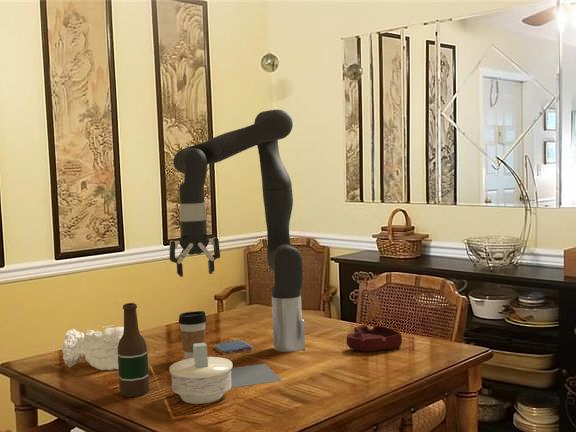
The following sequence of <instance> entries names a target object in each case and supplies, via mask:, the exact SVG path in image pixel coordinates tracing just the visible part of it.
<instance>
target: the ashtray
mask: <svg viewBox="0 0 576 432" xmlns="http://www.w3.org/2000/svg"><path fill="white" fill-rule="evenodd" d="M345 341H346V345H347V347H348V348H350V350H353V352H355V353H361V352H372V351H383V350H384V351H385V350H395V349H399V348H400V347H401V346H402V342H403V337H402V334H401V332H399V331H397V330H394V329H393V328H390V327H388V326H384V325H374V326H373V328H370V327H368V325H367V324H361V325H358V326H354V332H353V333H348V334H347V335H346V340H345Z"/></svg>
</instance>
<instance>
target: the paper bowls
mask: <svg viewBox="0 0 576 432" xmlns="http://www.w3.org/2000/svg"><path fill="white" fill-rule="evenodd" d="M170 375H171V390H172V392H173V393H175V394H177V395H179V396H180V399H181V400H182V401H183V402H185V403H188V404H194V405H195V404H196V405H197V404H199V405H200V404H209V403H213V402H216V401H219V400H220V399H222V398H223V397H224V394H225V393H226V392H228V391H229V390H231V389H232V388H231V370H230V371H229V372H227V373H225V374H222V375H219V376H215V377H209V378H200V379H188V378H180V377H176V376H173V375H172V374H170Z"/></svg>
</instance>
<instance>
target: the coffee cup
mask: <svg viewBox="0 0 576 432" xmlns="http://www.w3.org/2000/svg"><path fill="white" fill-rule="evenodd" d="M206 322H207V316H206V312H205V310H204V311H203V310H201V311H200V310H199V311H198V310H197V311H196V310H195V311H188V312H186V311H185V312H183V313H180V314H179V317H178V324H179V325H180V326H179V327H180V330H179V331H180V339H181V344H182V351H183V358H184V359H183V360H185V359H190V358H194V351H193V344H197V343H205V344H206V334H207V333H206V332H207V331H206V330H207V327H206Z"/></svg>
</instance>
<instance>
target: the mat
mask: <svg viewBox="0 0 576 432" xmlns="http://www.w3.org/2000/svg"><path fill="white" fill-rule="evenodd" d="M282 381H283V380H282V379H281V377H279V376H278V374H276V373H275V372H274V371H273V370H272V369H271V368H270V367H269V366H268V364H266V363H260V364H259V363H258V364H253V365H245V366H238V367H237V366H235V367H232V369H231V388H230V389H234V388H238V387H239V388H240V387H247V386H254V385H261V384H262V385H263V384H268V383H275V382H282Z"/></svg>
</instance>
